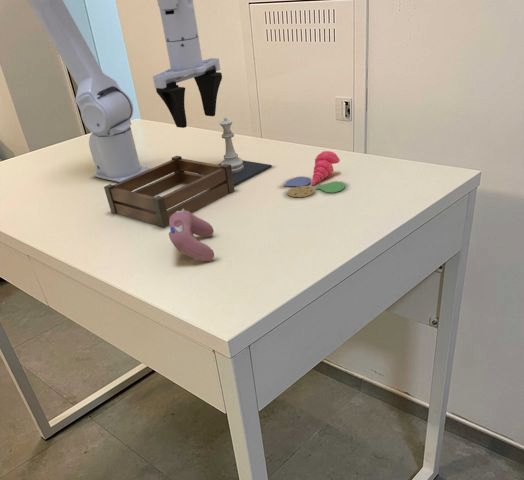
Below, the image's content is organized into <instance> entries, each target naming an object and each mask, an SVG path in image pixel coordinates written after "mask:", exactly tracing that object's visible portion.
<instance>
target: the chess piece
mask: <svg viewBox="0 0 524 480" xmlns="http://www.w3.org/2000/svg"><path fill="white" fill-rule="evenodd" d="M232 124H233V121H232V120H229V119H228V118H227V117H226V116H223V121H220V122H219V126H220V127H221V128H222V130H223V131H222V134H221V138H222V139H224V140H225V142H224V143H225V154H224V155H223V160H222V161H221V162H220V164H221V165H224V164H229V165H231V169H232V174H235V173H239V172H241V171H242V170H243V169H244V166H243V161H244V160H243V159H241V158H240V157H239V154H238V153H237V152H236V149H235V148H234V145H233V140H232V138H233V137H235V133H233V132H232V130H231V126H232ZM242 160H243V161H242Z"/></svg>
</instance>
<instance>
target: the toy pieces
mask: <svg viewBox="0 0 524 480" xmlns="http://www.w3.org/2000/svg"><path fill="white" fill-rule="evenodd" d="M340 161H341V159H340V158H339V156H338V155H337V154H336V153H335V152H334V151H331V150H324V151H321V152H320V153H319V154H317V156H316V157H315V159H314V167H313V172H312V173H313V174H312V181H311V178H310V177H307V176H297V177H293V178H291V179H289V180H287V181H286V182H285V184H283V187H292V188H290V189H289V190H288V191H287V195H288V196H289V197H292V198H306V197H309V196H311V195H313V194H314V193H315V190H320V191H323V192H325V193H327V194H332V193H333V194H335V193H338V192H341V191H342V190H344V189H345V188H346V183H344V182H342V181H332V182H327V183H324V184H320V183H319V182H321V181H322V180H324V179H326V178H327V177H328V176H331V175H332V173H333V172H334V166H333V164H334V165H335V164H339V163H340ZM310 183H311V186H309V184H310ZM318 183H319V184H318ZM316 184H317V185H316ZM315 185H316V186H315ZM313 186H315V188H314V187H313Z"/></svg>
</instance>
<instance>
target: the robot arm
mask: <svg viewBox="0 0 524 480" xmlns="http://www.w3.org/2000/svg"><path fill="white" fill-rule="evenodd" d="M27 1H28V3H29V5H30V7H31V9H32V10H33V12H34V14H35V15H36V17H37V19H38V20H39V22H40V25H41V26H42V28H43V29H44V31H45V33H46V35H47V36H48V38H49V40H50V41H51V43H52V45H53V47H54V48H55V50H56V51H57V53H58V55H59V57H60V58H61V61H62V62H63V63H64V65H65V67H66V69H67V71H68V72H69V74H70V75H71V77H72V79H73V81H74V83H75V84H76V86H77V89H76V95H75V100H74V101H75V103H76V105H77V107H78V109H79V111H80V116H81V120H82V122H83V124H84V126H85V127H86V129H88V131H89V132H91V134H90V135H89V138H88V147H89V151H90V154H91V157H92V161H93V164H94V167H95V171H96V173H94V174H93V176H94V177H95V178H99V179H103V180H108V181H112V182H116V183H119V182H122V181H124V180H126V179H128V178H131V177H133V176H135V175H138V174H140V173H142V172H145V171H147V170H149V169H151V167H148V166H143V165H141V163H140V159H139V155H138V151H137V148H136V143H135V139H134V136H133V135H134V134H133V131H132V128H131V126H132V122H131V119H132V117H133V115H134V104H133V102H132V100H131V98H130V97H129V95H128V94H127V93H126V92H125V91H124V90H123V89H122V88H121V87H120V85H119V84H118V82H117V81H116V80H115V79H114V78H112V77H110V76H108V75H107V74H105V73H104V72H103V70H102V69H101V67H100V64H99V63H98V61H97V59H96V57H95V55H94V54H93V52H92V50H91V49H90V46H89V45H88V43H87V42H86V40H85V38H84V36H83V34H82V32H81V30H80V29H79V27H78V26H77V25H78V24H77V23H76V21H75V20H74V18H73V16H72V14H71V12H70V10H69V9H68V7H67V5H66V3H65V1H64V0H27ZM156 1H157V7H158V8H159V13H160V18H161V23H162V29H163V35H164V39H165V45H166V50H167V51H166V52H167V56H168V62H169V67H170V68H169V69H166V70H163V71H162V72H160V73H158V74H155V75H152V79H153V84H154V88H155V92H156V93H157V95H158V96H159V97H160V98H161V100H162V101H163V103H164V104H165V106H166V107H167V109H168V111H169V113H170V115H171V117H172V119H173V121H174V124H175V126H176V128H182V129H185V128H187V124H188V122H187V115H186V108H185V107H186V106H185V94H186V87H184V86H179V85H178V83H181V82H184V81H187V80H190V79H194V81H195V83H196V86H197V89H198V91H199V95H200V99H201V103H202V109H203V113H204V115H205V116H206V117H215V116H216V112H217V111H216V110H217V99H218V94H219V93H218V92H219V88H220V85H221V82H222V81H223V74H222V72H221V71H220V70H221V64H220V59H219V57H218V58H214V57H211V58H207V59H203V56H202V51H201V50H202V49H201V43H200V37H199V30H198V24H197V17H196V10H195V5H194V0H156Z"/></svg>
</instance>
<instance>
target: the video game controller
mask: <svg viewBox="0 0 524 480" xmlns="http://www.w3.org/2000/svg"><path fill="white" fill-rule="evenodd" d="M168 226H169V232H168V237H169V239H170V242H171V244H172V245H173V246H174V247H175V249H176V250H177V251H178V252H179V253H182V254H185V255H187V256H188V257H190V258H193V259H194V260H197V261H200V262H201V261H202V262H210V261H212V260H213V259H215V252H214V250H213V249H212V248H211V246H209V245H207V244H205V243H204V242H202V241H200V240H198V239H197V238H196V236H199V237H205V238H206V237H212V235H213V234H214V232H215V231H214V227H213V226H212V224H211V223H210V222H208V221H206V220H204V219H203V218H200V217H199V216H196V215H195V214H193V212H192V213H190V212H189V211H185V210H184V209H182V211H176V212H175V213H174V214H172V215H171V216H170V219H169V225H168ZM195 235H196V236H195Z"/></svg>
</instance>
